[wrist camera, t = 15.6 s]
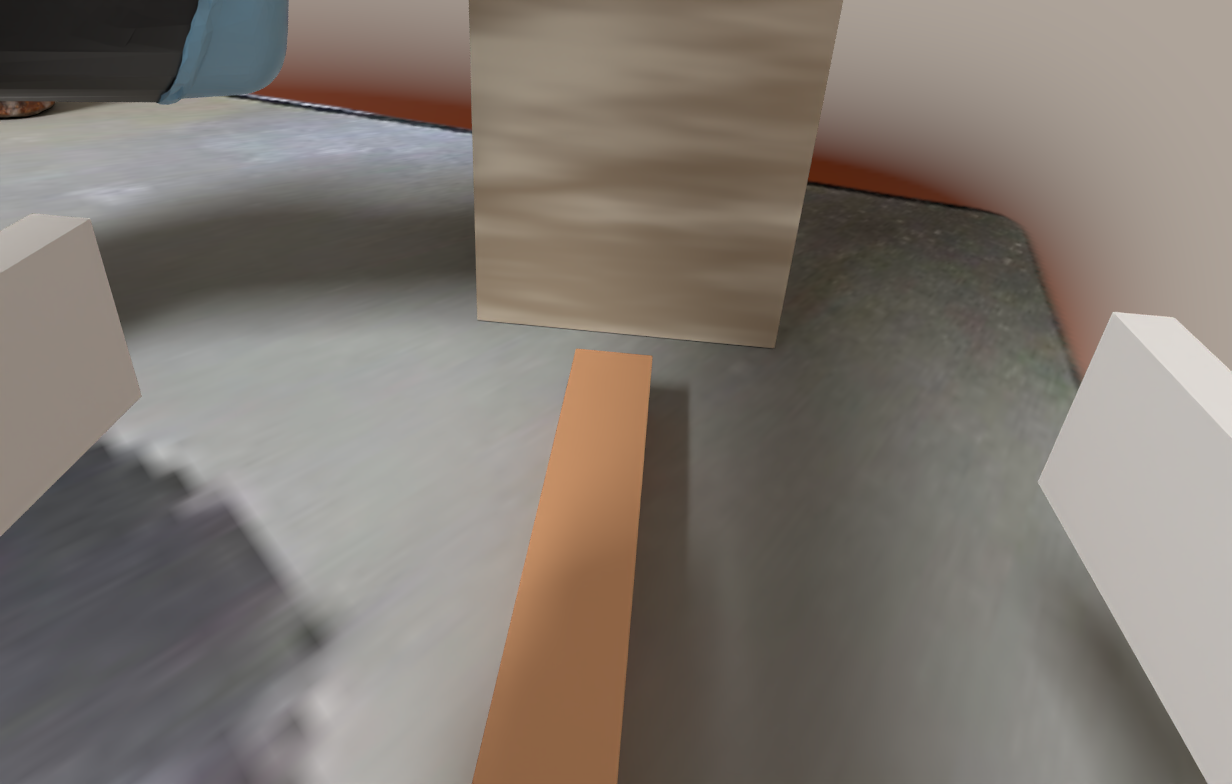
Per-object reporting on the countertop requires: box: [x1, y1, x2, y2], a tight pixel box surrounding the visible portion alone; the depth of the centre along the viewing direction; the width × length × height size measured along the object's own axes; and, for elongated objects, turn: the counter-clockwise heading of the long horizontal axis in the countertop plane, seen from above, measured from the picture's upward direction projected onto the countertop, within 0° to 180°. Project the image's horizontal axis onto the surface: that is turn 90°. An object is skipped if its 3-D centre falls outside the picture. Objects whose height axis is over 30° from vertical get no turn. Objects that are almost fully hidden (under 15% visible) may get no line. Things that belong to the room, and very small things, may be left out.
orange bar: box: [472, 349, 652, 784], centre depth 22 cm, size 26×3×3 cm, turn 175°
